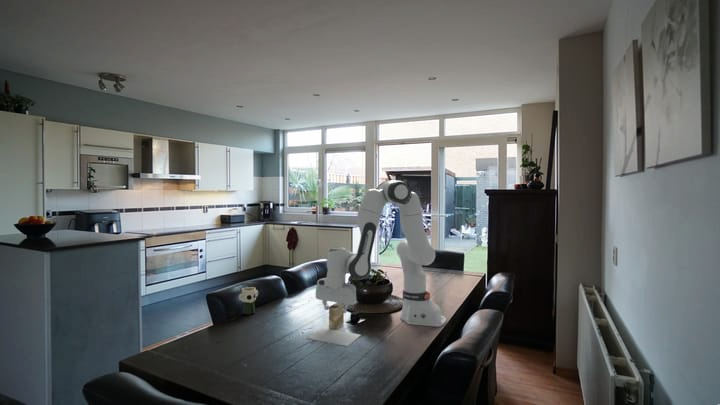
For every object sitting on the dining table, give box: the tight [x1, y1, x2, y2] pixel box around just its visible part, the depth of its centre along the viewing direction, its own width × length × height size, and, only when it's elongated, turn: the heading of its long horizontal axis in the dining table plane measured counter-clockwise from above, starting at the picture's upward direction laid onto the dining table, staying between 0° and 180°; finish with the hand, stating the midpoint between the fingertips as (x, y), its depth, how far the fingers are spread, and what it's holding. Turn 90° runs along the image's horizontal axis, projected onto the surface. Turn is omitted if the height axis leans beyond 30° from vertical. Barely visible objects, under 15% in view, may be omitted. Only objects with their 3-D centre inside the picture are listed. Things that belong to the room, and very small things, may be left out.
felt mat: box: [306, 327, 362, 347], centre depth 163 cm, size 20×13×1 cm, turn 65°
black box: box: [345, 311, 366, 326], centre depth 184 cm, size 12×7×5 cm, turn 143°
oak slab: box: [328, 302, 345, 331], centre depth 176 cm, size 4×8×10 cm, turn 155°
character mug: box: [238, 286, 259, 315], centre depth 194 cm, size 11×7×13 cm, turn 140°
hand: (335, 311), depth 175 cm, fingers open, 8 cm apart
